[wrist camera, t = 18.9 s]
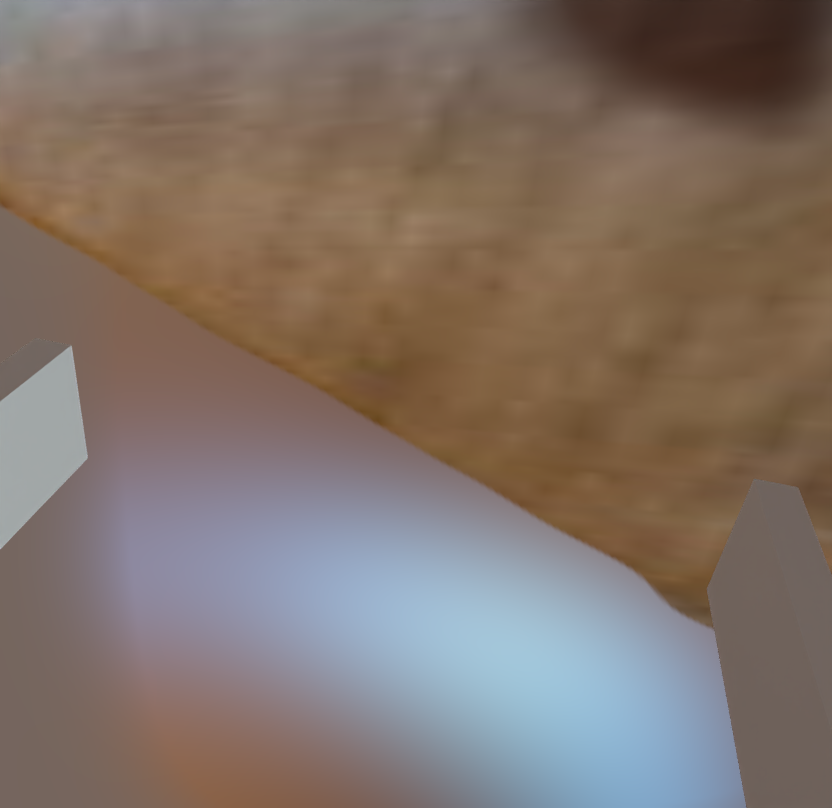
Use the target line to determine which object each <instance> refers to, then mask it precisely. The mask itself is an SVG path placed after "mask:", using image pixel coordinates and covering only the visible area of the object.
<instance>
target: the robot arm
mask: <svg viewBox="0 0 832 808" xmlns="http://www.w3.org/2000/svg"><path fill="white" fill-rule="evenodd" d="M87 458H88V456H87V450H86V442H85V436H84V428H83V421H82V415H81V408H80V401H79V394H78V387H77V381H76V374H75V366H74V359H73V352H72V346H71V345H68V344H63V343H58V342H53V341H48V340H43V339H37V338H35V339H33V340H32V341H31V342H29V343H28V344H27V345H25V346H24V347H22V348H21V349H20V350H18V351H17V352H16V353H14V354H13V355H11V356H10V357H9V358H7V359H6V360H5V361H3V362H2V363H0V549H1V548H2V547H3V546H4V545H5V544H6V543H7V542H8V541H9V540H10V539H11V537H12V536H13V535H14V534H15V533H16V532H17V531H18V530H19V529H20V528H21V527H22V526H23V525H24V524H25V523H26V522H27V521H28V520H29V519H30V518H31V517H32V516H33V514H34V513H35V512H36V511H37V510H38V509H39V508H40V507H41V506H42V505H43V504H44V503H45V502H46V501H47V500H48V499H49V498H50V497H51V496H52V495H53V494H54V493H55V492H56V490H57V489H59V488H60V486H61V485H62V484H63V483H64V482H65V481H66V480H67V479H68V478H69V477H70V476H71V475H72V474H73V473H74V472H75V471H76V470H77V468H79V467H80V466H81V465H82V463H84V462H85V460H86V459H87ZM707 592H708V598H709V603H710V609H711V614H712V620H713V625H714V631H715V636H716V641H717V647H718V653H719V658H720V664H721V669H722V675H723V681H724V686H725V692H726V697H727V702H728V708H729V714H730V719H731V725H732V730H733V735H734V741H735V747H736V752H737V758H738V763H739V769H740V774H741V779H742V785H743V791H744V796H745V802H746V807H747V808H832V575H831V573H830V570H829V567H828V565H827V562H826V560H825V557H824V554H823V552H822V549H821V546H820V544H819V541H818V539H817V536H816V533H815V531H814V528H813V525H812V523H811V520H810V517H809V515H808V512H807V510H806V507H805V504H804V502H803V499H802V496H801V494H800V491H799V489H798V487H793V486H788V485H783V484H778V483H773V482H768V481H763V480H757V479H754V480H753V483H752V485H751V487H750V490H749V492H748V494H747V497H746V499H745V501H744V504H743V506H742V508H741V511H740V513H739V515H738V518H737V520H736V522H735V525H734V527H733V529H732V532H731V534H730V536H729V539H728V541H727V543H726V546H725V548H724V550H723V553H722V555H721V557H720V560H719V562H718V564H717V567H716V569H715V571H714V574H713V576H712V578H711V581H710V583H709V585H708V588H707Z"/></svg>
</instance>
